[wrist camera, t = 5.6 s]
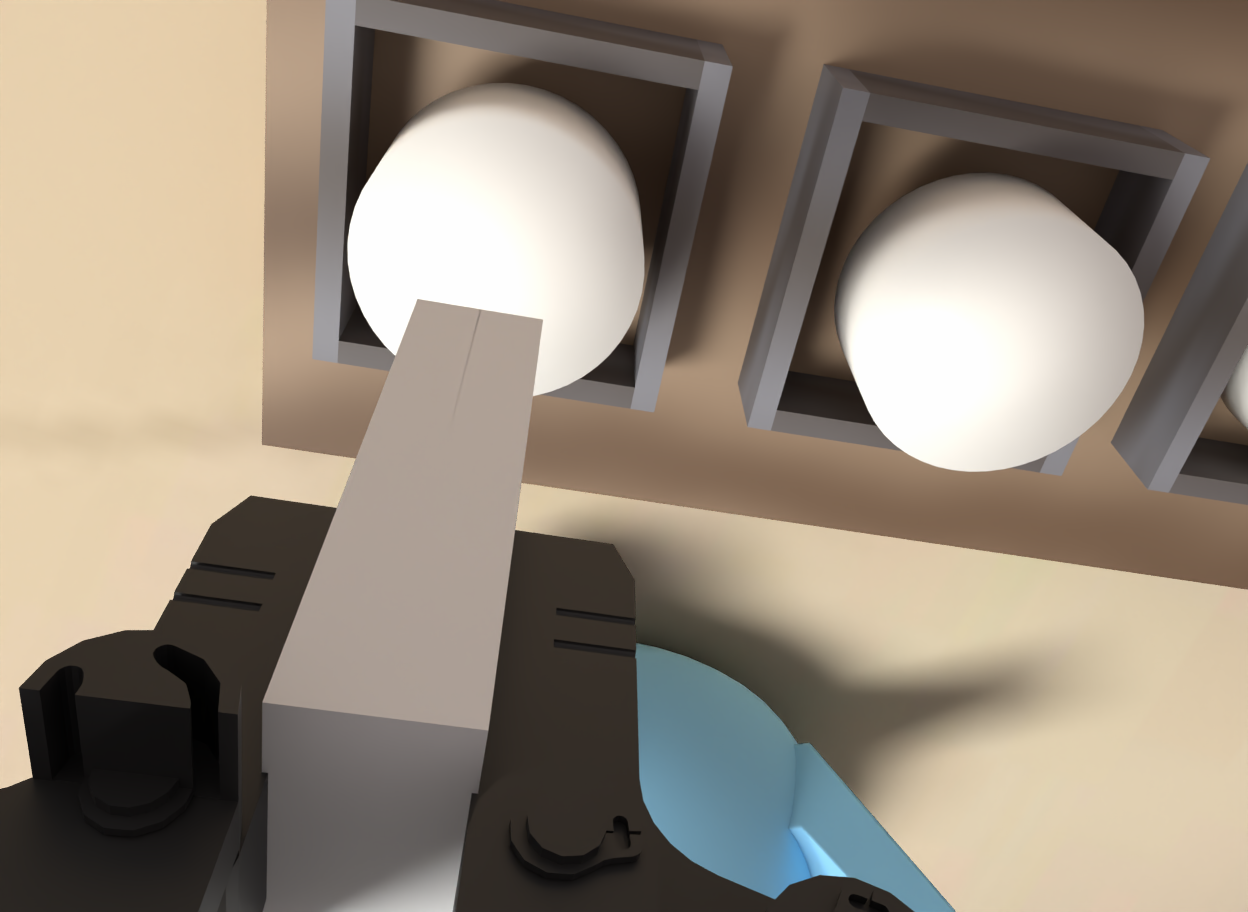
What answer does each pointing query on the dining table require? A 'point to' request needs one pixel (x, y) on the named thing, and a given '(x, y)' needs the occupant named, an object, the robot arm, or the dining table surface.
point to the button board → (807, 244)
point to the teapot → (754, 789)
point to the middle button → (986, 322)
